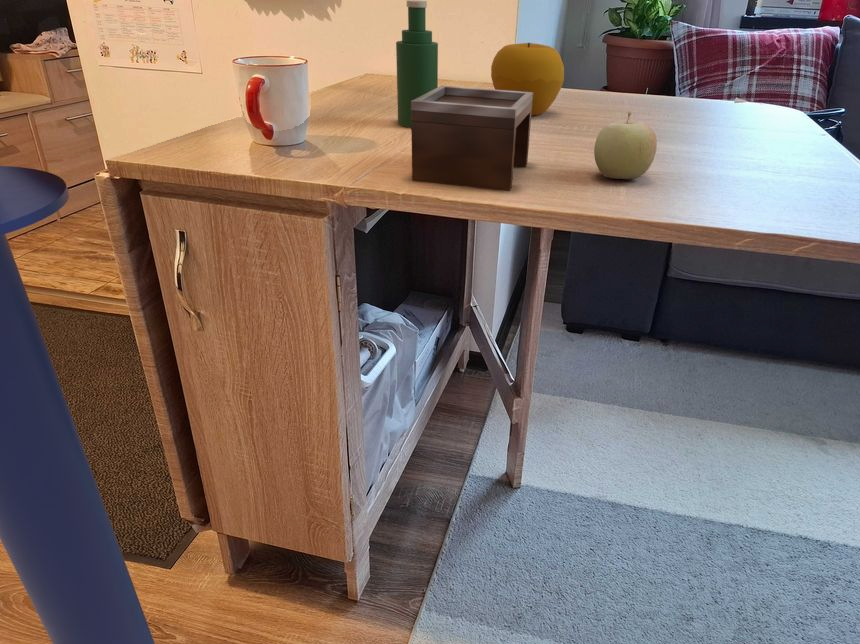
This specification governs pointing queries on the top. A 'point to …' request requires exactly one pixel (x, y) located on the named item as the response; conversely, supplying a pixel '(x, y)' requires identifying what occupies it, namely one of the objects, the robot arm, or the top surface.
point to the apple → (529, 72)
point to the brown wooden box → (470, 136)
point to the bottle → (415, 61)
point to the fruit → (625, 149)
